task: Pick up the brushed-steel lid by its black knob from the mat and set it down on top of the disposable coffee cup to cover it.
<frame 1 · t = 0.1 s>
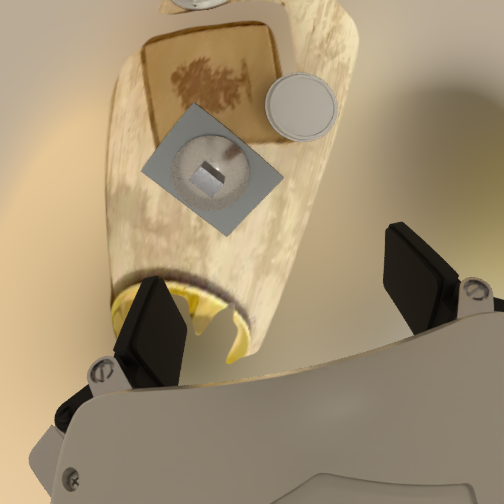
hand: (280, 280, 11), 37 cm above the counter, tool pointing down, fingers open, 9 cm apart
disposable coffee cup: (287, 107, 40), on the counter
mat: (210, 171, 45), on the counter
lid: (210, 172, 44), point 1 cm above the counter, touching mat
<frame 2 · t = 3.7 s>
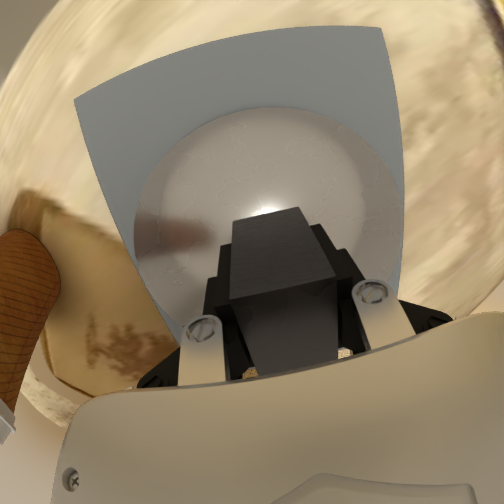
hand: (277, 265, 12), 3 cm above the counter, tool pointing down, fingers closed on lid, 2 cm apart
disposable coffee cup: (30, 266, 15), on the counter
mat: (270, 236, 14), on the counter
lid: (271, 242, 14), point 1 cm above the counter, touching gripper, mat
when the fingers open (16 cm above the counter, at t = 7.4 s): lid drops 2 cm, resting on disposable coffee cup.
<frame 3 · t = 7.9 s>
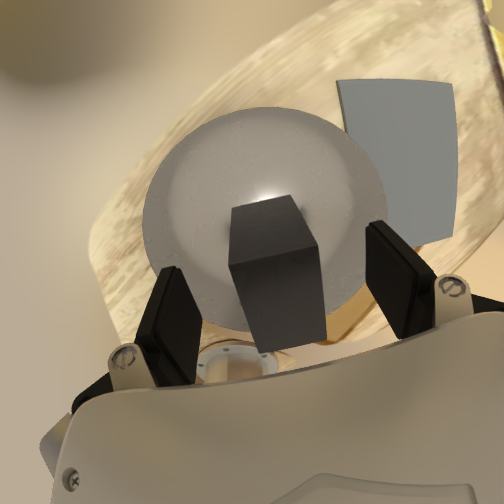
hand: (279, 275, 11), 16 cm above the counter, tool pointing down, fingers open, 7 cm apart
mat: (410, 168, 25), on the counter
lid: (267, 228, 15), point 12 cm above the counter, touching disposable coffee cup
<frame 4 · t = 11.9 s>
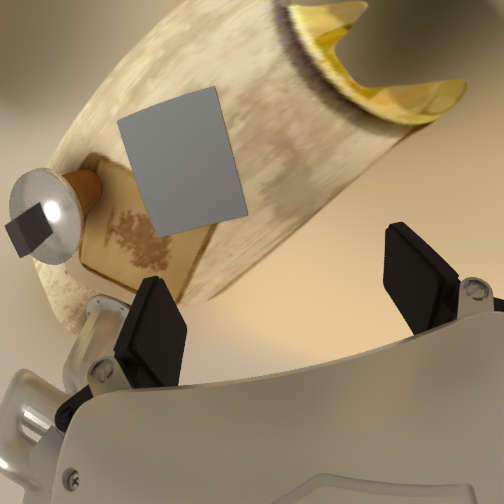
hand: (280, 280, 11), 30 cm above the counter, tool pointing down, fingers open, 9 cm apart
disposable coffee cup: (87, 186, 38), on the counter, touching lid
mat: (182, 165, 37), on the counter
lid: (46, 216, 27), point 12 cm above the counter, touching disposable coffee cup
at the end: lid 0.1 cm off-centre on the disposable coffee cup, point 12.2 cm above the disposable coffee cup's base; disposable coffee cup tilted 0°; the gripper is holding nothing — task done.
